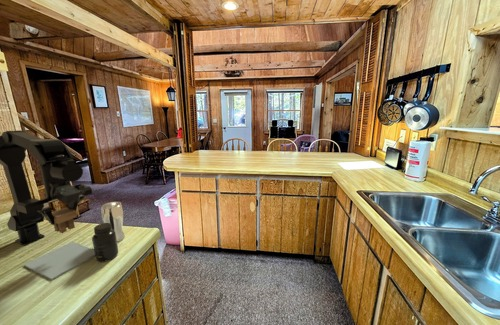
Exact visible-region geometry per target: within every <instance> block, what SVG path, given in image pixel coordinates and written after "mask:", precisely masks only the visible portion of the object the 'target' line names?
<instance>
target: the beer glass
mask: <svg viewBox="0 0 500 325" xmlns="http://www.w3.org/2000/svg"><path fill="white" fill-rule="evenodd" d="M123 211H124V210H123V205H122V203H121V201H111V202H106V203H103V205H101V219H102V223H110V224H111V228H112V230H114V231H115V233H116V239H117V243H119V242H122V241H123V240H124V239H125V233H124V229H123V225H124V224H123V223H124V212H123Z"/></svg>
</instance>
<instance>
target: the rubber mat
mask: <svg viewBox="0 0 500 325" xmlns="http://www.w3.org/2000/svg"><path fill="white" fill-rule="evenodd" d="M94 257H95V253H94V248H91V247H88V246H85V245H82V244H80V243H77V242H74V241H70V242H68V243H67V244H64V245H62V246H59V247H58V248H55V249H54V250H51V251H49V252H46V253H45V254H43V255H40V256H38V257H36V258H35V259H32V260H30V261H28V262H26V263H23V267H25V268H27V269H29V270H31V271H32V272H35V273H37V274H38V275H41V276H42V277H45V278H47V279H48V280H50V281H54V280H56V279H58V278H59V277H61V276H62V275H65V274H66V273H68V272H70V271H71V270H73V269H75V268H76V267H78V266H80V265H82V264H83V263H85V262H87V261H88V260H90V259H92V258H94Z"/></svg>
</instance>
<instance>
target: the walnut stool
mask: <svg viewBox="0 0 500 325" xmlns="http://www.w3.org/2000/svg"><path fill="white" fill-rule="evenodd" d="M52 215H53V218H54V223H55V224H54V225H53V229H54V232H59V233H61V234H63V233H65V232H67V229H68V230H73V229H75V228H76V227H75V221H74V218H77V217H78V215H77V209H76V210H73V209H69V208H68V207H64V208H61V209H59V210H58V209H57V210H55V211H52Z"/></svg>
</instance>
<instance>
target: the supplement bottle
mask: <svg viewBox="0 0 500 325" xmlns="http://www.w3.org/2000/svg"><path fill="white" fill-rule="evenodd" d="M93 231H94V234H93V235H92V237H91V241H92V242H91V243H92V245H93V246H92V247H93V250H94V253H95V256H94V257H95V260H96V261H97V262H100V263H103V262H104V263H105V262H108V261H110V260H113V259H114V258H116V257H117V256H118V254H119V248H118V242H117V239H116V233H115V231H114V230H112V228H111V224H110V223H103V222H102V223H99V224H97V225H95V226H94V228H93Z"/></svg>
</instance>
